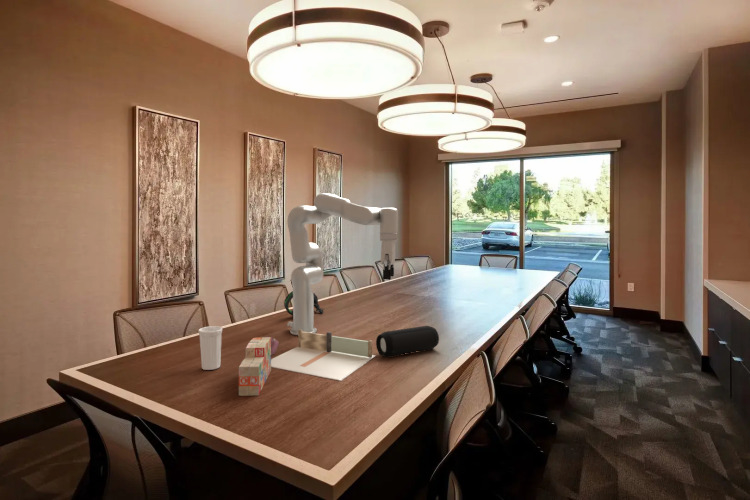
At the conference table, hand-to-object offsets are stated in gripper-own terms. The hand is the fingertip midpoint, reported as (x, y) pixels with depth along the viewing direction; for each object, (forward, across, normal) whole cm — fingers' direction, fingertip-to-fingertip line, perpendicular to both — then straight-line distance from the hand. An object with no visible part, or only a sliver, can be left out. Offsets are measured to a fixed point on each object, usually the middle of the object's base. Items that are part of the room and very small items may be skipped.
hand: (388, 277), depth 174 cm
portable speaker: (+30, +6, +9) cm, 32 cm away
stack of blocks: (+30, +47, -37) cm, 67 cm away
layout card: (+29, +23, -23) cm, 44 cm away
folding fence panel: (+29, +15, -12) cm, 35 cm away
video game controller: (+30, +18, -47) cm, 59 cm away
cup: (+29, +39, -59) cm, 76 cm away
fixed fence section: (+29, +11, -29) cm, 43 cm away
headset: (+29, -44, -53) cm, 75 cm away
